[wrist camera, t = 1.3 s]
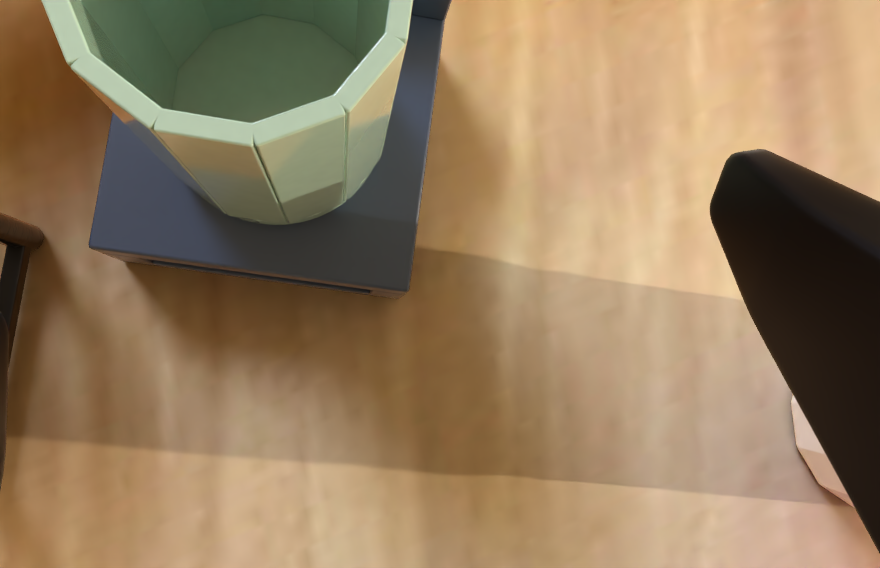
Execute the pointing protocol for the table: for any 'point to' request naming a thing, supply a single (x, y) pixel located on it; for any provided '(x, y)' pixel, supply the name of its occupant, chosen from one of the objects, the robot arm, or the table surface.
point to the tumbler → (247, 91)
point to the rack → (15, 267)
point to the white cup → (815, 454)
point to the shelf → (292, 245)
